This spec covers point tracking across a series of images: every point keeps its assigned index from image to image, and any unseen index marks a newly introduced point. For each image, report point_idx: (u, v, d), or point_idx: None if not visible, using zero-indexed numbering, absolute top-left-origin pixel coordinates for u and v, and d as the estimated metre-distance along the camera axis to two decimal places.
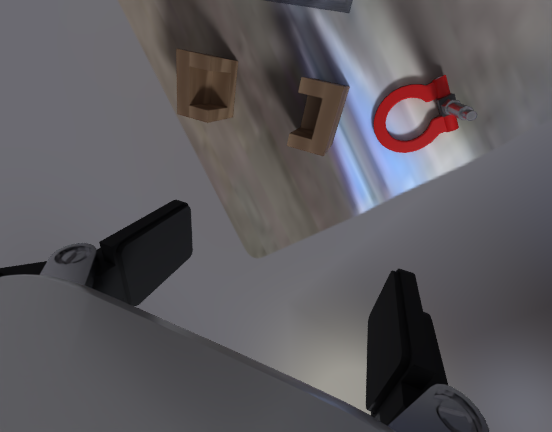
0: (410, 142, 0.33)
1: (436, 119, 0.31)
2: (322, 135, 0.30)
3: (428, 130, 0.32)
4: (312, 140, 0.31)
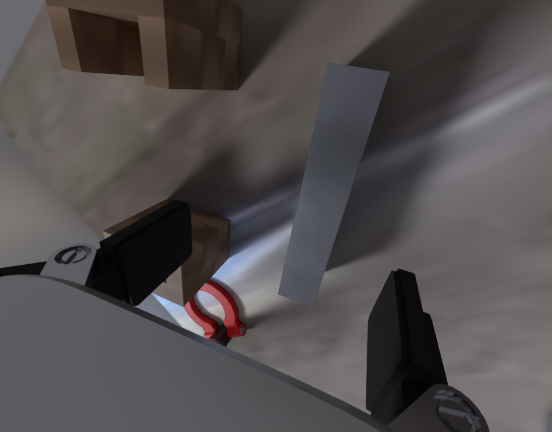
0: (190, 308, 0.33)
1: (211, 327, 0.33)
2: None
3: (202, 321, 0.33)
4: None
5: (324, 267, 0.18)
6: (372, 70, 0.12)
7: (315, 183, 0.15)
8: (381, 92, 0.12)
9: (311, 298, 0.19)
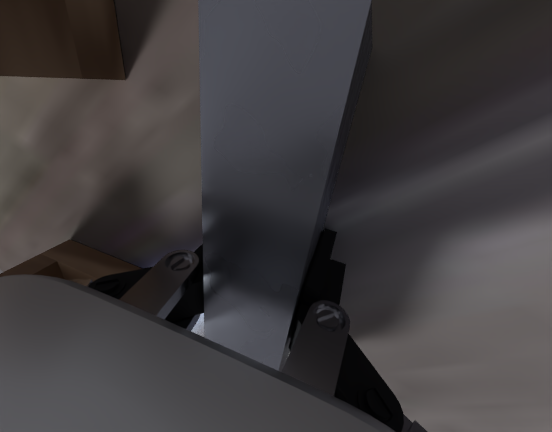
0: None
1: None
2: None
3: None
4: None
5: None
6: None
7: (226, 270, 0.07)
8: (349, 68, 0.04)
9: None
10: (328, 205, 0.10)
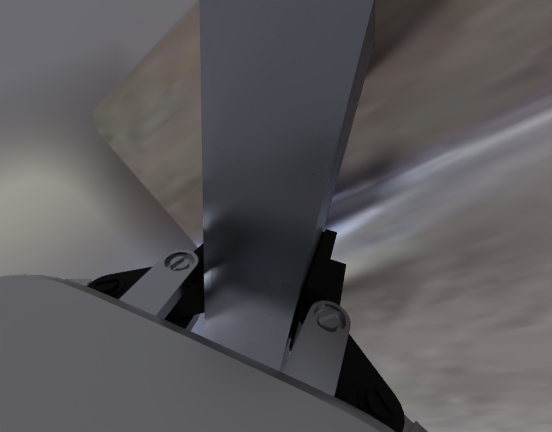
0: None
1: None
2: None
3: None
4: None
5: None
6: None
7: (227, 269, 0.07)
8: (352, 65, 0.04)
9: None
10: (329, 204, 0.10)
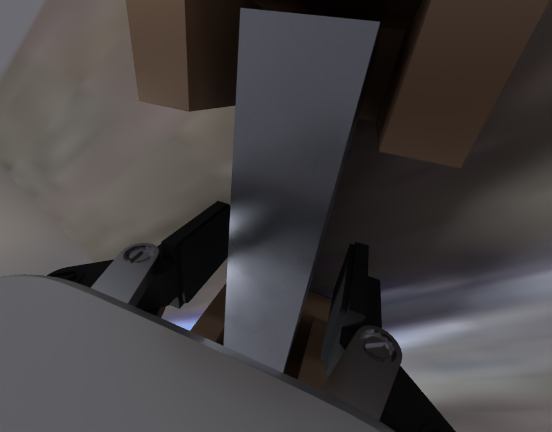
0: None
1: None
2: None
3: None
4: None
5: (281, 368, 0.11)
6: (338, 20, 0.05)
7: (249, 247, 0.08)
8: (362, 74, 0.05)
9: None
10: (336, 194, 0.11)
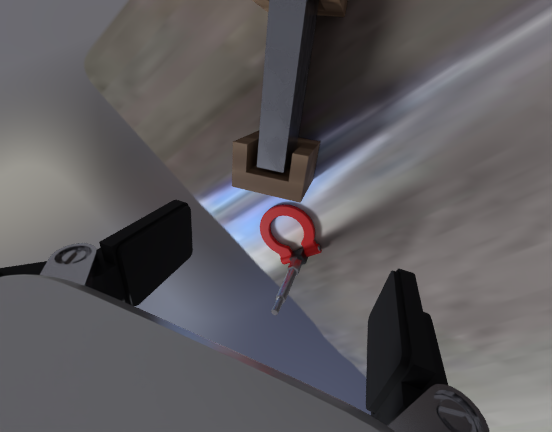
0: (269, 236, 0.38)
1: (288, 250, 0.38)
2: (252, 184, 0.27)
3: (280, 246, 0.38)
4: (245, 173, 0.27)
5: (288, 130, 0.24)
6: None
7: (274, 54, 0.21)
8: None
9: (281, 163, 0.25)
10: (310, 50, 0.24)
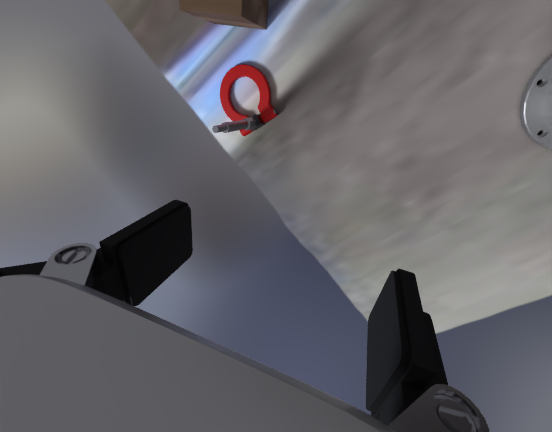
0: (228, 103, 0.39)
1: None
2: (198, 2, 0.28)
3: (239, 115, 0.39)
4: None
5: None
6: None
7: None
8: None
9: None
10: None
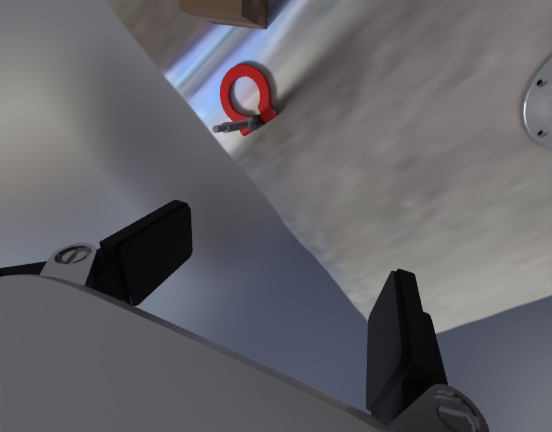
0: (228, 103, 0.39)
1: None
2: (198, 2, 0.28)
3: (239, 115, 0.39)
4: None
5: None
6: None
7: None
8: None
9: None
10: None
